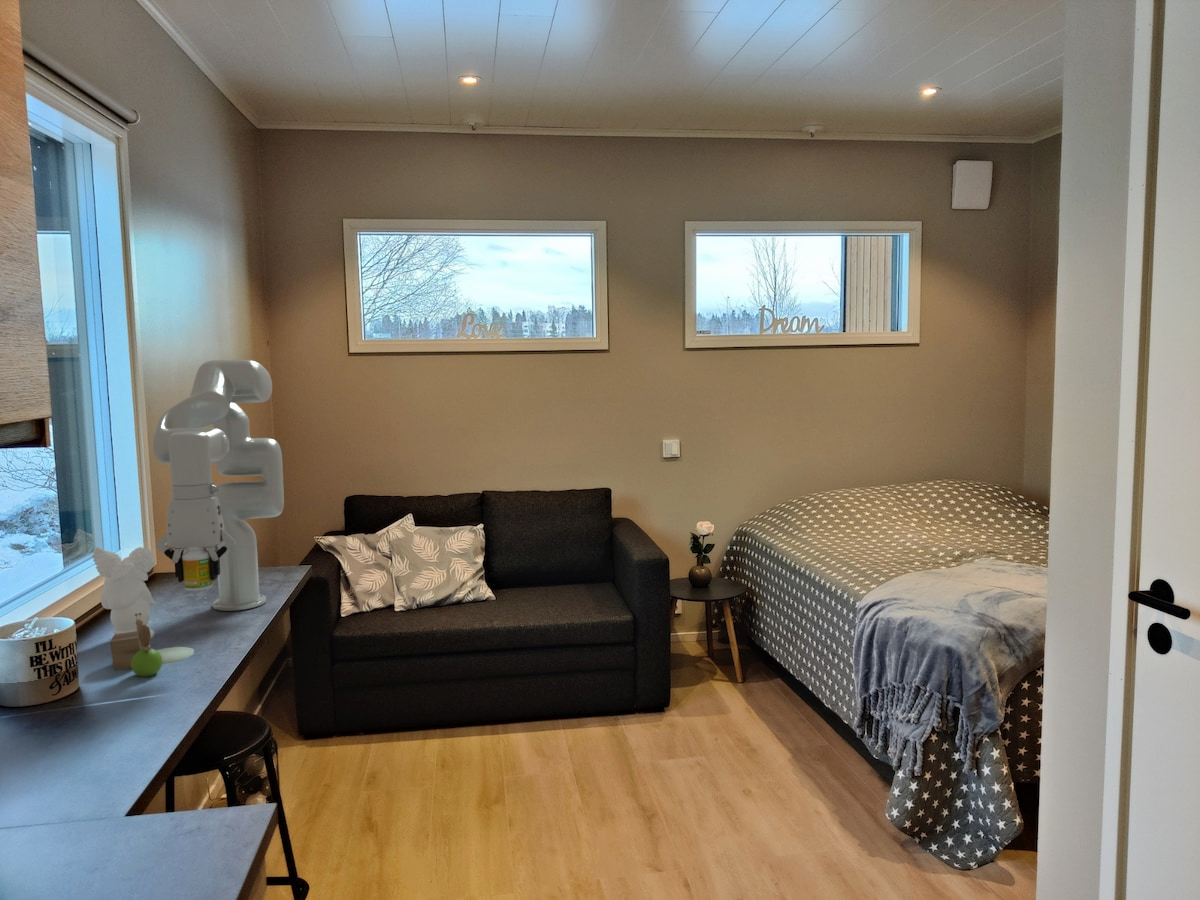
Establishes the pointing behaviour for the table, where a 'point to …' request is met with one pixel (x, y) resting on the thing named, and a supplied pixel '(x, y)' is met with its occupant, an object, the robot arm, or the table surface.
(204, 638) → the table surface
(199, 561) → the supplement bottle
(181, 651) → the felt coaster
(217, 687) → the table surface
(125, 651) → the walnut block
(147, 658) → the snail figurine
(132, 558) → the cherub figurine
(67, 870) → the table surface
